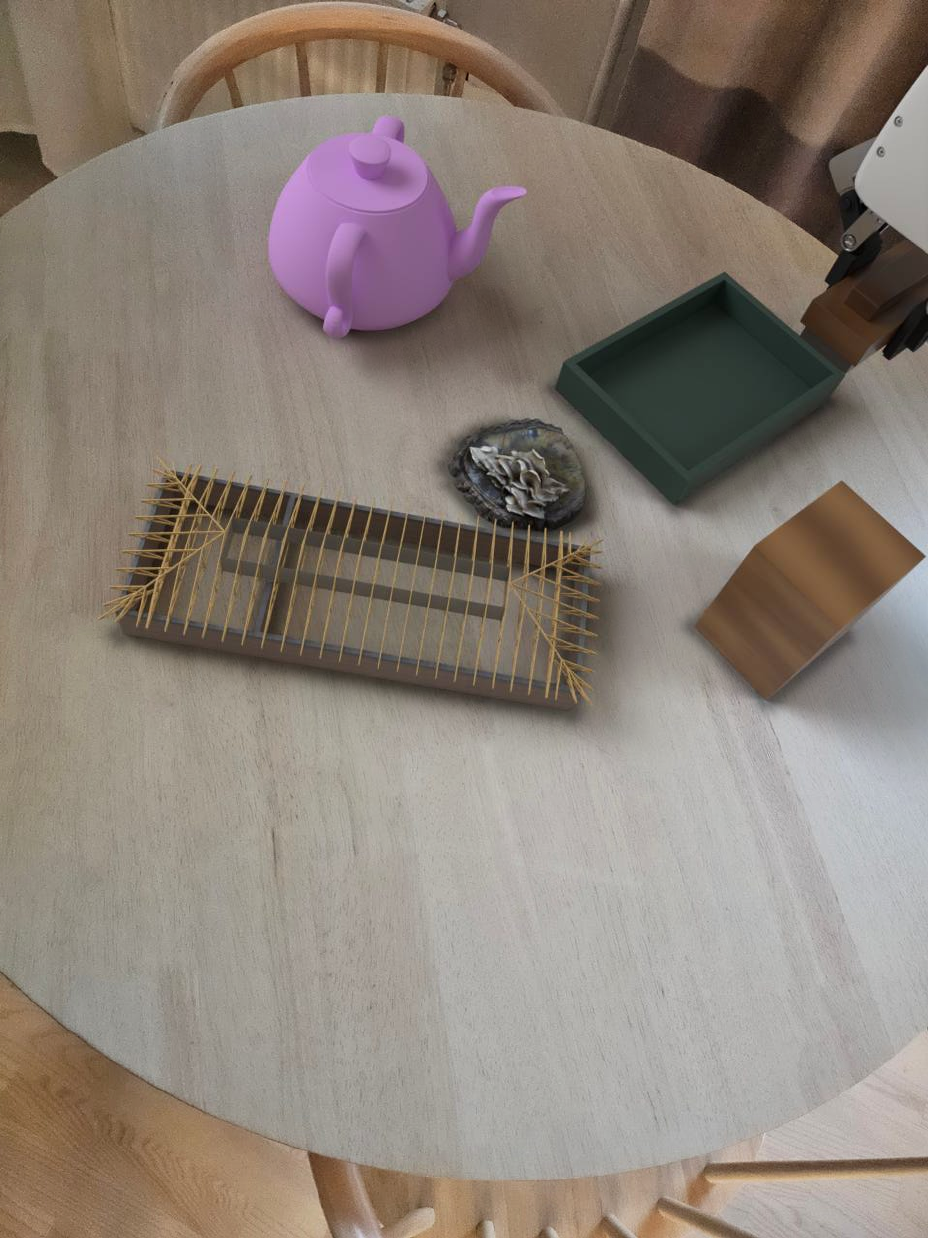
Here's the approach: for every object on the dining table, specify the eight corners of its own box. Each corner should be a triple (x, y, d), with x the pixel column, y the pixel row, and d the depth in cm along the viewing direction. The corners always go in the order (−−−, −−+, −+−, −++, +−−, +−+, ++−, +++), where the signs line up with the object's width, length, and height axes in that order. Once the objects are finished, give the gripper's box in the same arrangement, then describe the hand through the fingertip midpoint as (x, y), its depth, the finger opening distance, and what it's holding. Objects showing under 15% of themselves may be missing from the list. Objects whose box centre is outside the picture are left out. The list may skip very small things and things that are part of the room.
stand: (773, 565, 80) (841, 479, 69) (844, 634, 77) (926, 556, 67) (693, 626, 76) (754, 545, 65) (766, 700, 73) (841, 629, 63)
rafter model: (107, 642, 68) (89, 600, 63) (163, 483, 75) (151, 433, 70) (580, 723, 70) (602, 690, 65) (592, 562, 77) (612, 519, 72)
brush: (881, 275, 64) (916, 222, 60) (934, 316, 62) (973, 265, 59) (790, 335, 59) (821, 283, 56) (845, 381, 58) (880, 330, 55)
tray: (711, 298, 94) (724, 270, 91) (828, 400, 90) (845, 374, 87) (554, 388, 86) (563, 361, 83) (674, 506, 81) (688, 481, 78)
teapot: (479, 399, 84) (506, 276, 72) (238, 341, 83) (226, 208, 71) (516, 236, 95) (546, 106, 83) (304, 185, 94) (302, 45, 82)
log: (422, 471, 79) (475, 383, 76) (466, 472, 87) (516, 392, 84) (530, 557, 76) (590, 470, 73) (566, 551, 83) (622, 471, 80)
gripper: (1250, 111, 44) (1002, 382, 60) (961, -72, 49) (802, 224, 65) (1178, 164, 41) (937, 435, 57) (877, -36, 46) (732, 266, 62)
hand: (867, 321), depth 61 cm, fingers closed on brush, 4 cm apart
